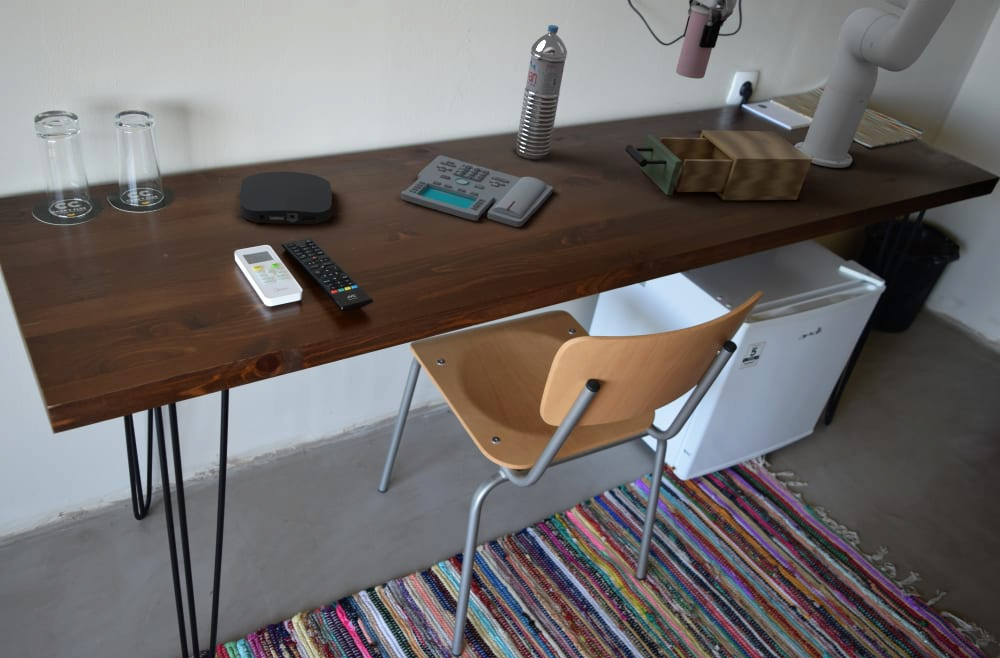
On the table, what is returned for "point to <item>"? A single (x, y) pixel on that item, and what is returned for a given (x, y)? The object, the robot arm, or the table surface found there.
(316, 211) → the media streaming box
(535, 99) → the water bottle
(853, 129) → the robot arm
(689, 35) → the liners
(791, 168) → the wood-grain box
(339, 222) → the table surface
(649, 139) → the drawer
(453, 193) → the office telephone
